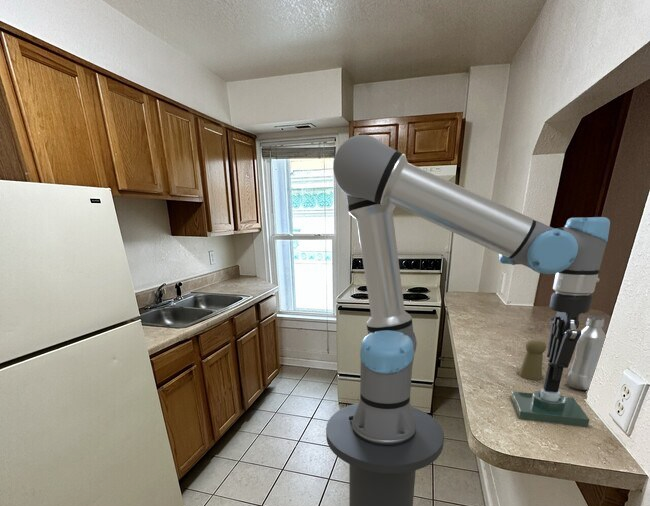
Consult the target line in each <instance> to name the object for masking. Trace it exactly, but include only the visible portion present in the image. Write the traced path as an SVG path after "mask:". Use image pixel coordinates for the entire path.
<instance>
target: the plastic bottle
mask: <svg viewBox="0 0 650 506" xmlns="http://www.w3.org/2000/svg"><path fill="white" fill-rule="evenodd" d="M585 325H586V326H585V327H583V328H582V329H581V330H580V331H581V333H582V334H581V336H580V338H579V339H578V341H577V344H576V347H575V350H574V352H575V353H574V358H573V361H572V364H571V367H570V370H569V372H568V373H567V375H566V382H567V384H568V386H569V387H571V388H573V389H576V390H579V391H588V390H590V389H589V386H590V383H591V381H592V378H593V375H594V372H595V369H596V370H597V368H596V366H597V367H598V362H599V358H600V357H601V353H602V351H603V349H602V347H603V348H604V346H603V344H604V341H605V338H606V339H607V336H606V333H605V331H604V330H603V327H604V325H605V318H603V317H600V316H588V317H587V319H586V322H585ZM604 345H605V344H604Z"/></svg>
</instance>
